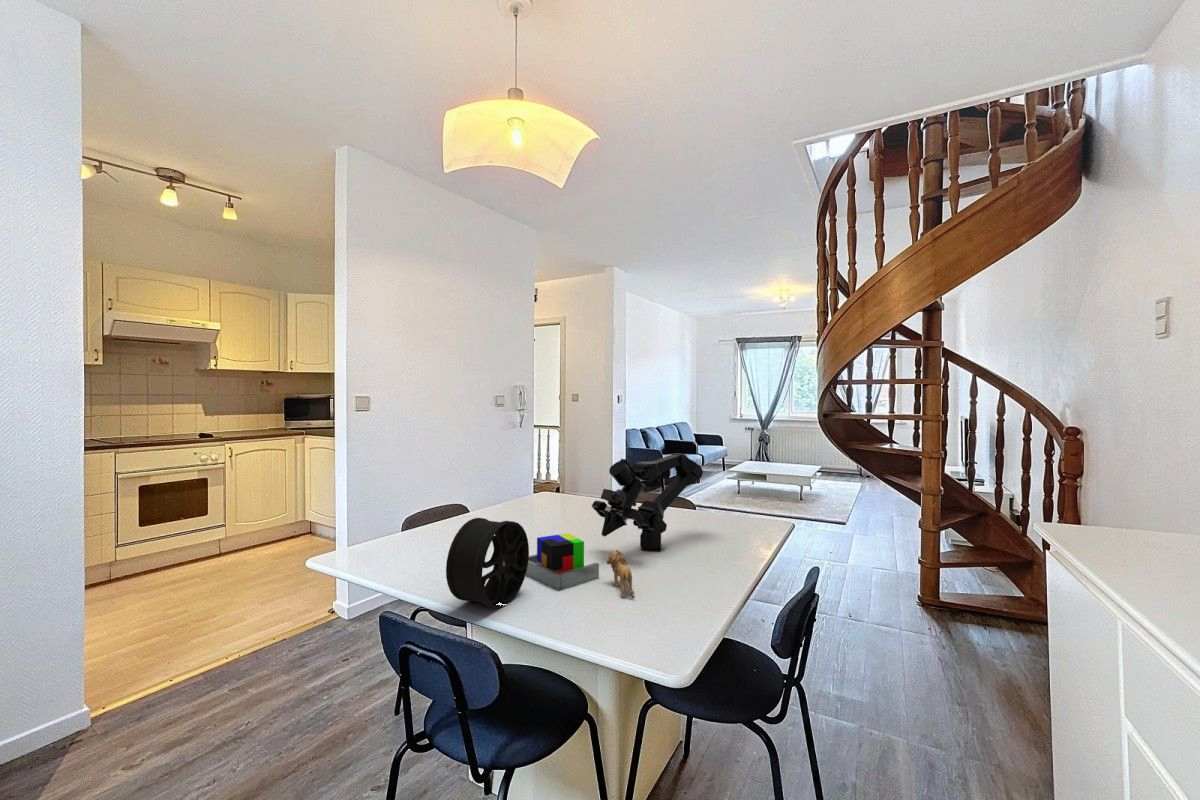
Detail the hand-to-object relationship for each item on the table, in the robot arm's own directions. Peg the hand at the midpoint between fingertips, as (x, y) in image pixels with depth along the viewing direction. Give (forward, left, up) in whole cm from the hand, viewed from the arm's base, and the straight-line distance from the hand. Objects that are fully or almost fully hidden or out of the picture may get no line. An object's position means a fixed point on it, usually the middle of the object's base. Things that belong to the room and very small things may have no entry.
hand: (603, 535), depth 154 cm
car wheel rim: (+22, +35, -8) cm, 42 cm away
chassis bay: (+10, +13, -8) cm, 18 cm away
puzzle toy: (+10, +12, -9) cm, 18 cm away
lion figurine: (-8, +20, -8) cm, 23 cm away
